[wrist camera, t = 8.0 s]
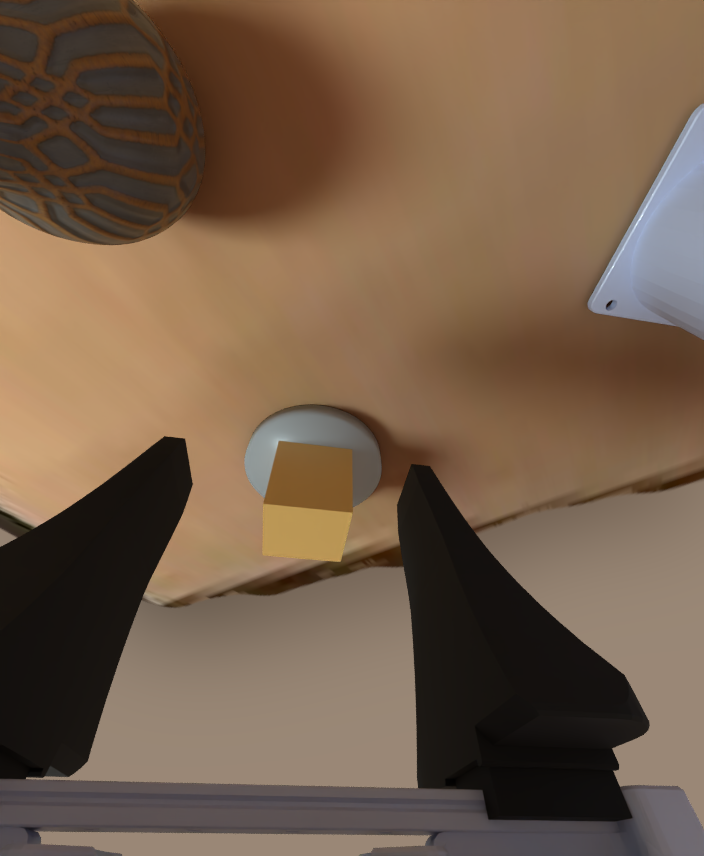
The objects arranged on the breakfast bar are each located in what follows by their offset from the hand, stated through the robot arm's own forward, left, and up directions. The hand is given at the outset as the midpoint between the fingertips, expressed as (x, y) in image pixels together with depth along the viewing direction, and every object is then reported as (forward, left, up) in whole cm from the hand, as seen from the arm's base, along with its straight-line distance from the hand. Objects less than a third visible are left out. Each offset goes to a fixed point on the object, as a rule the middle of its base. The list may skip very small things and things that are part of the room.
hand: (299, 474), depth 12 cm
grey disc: (0, +8, -10) cm, 13 cm away
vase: (+8, -8, -10) cm, 15 cm away
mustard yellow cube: (0, +8, -9) cm, 12 cm away
